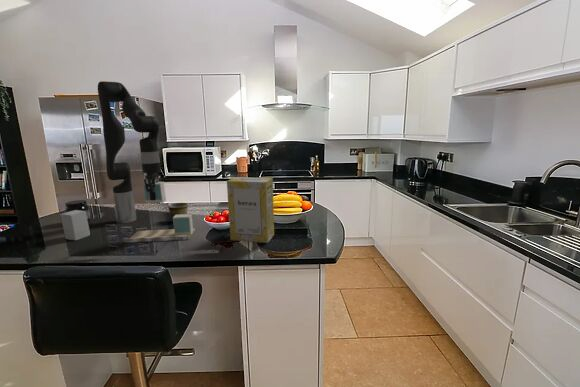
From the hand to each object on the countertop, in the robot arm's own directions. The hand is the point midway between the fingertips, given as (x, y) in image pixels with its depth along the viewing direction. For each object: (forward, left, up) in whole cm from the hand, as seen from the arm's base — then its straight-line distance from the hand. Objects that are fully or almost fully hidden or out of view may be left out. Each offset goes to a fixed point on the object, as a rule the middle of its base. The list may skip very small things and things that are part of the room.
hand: (155, 198), depth 129 cm
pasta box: (+44, -5, -20) cm, 49 cm away
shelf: (+1, 0, -20) cm, 20 cm away
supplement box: (-41, +7, -20) cm, 46 cm away
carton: (0, 0, -2) cm, 2 cm away
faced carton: (+11, 0, -18) cm, 21 cm away
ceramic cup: (+2, +24, -20) cm, 31 cm away
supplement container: (-54, +31, -20) cm, 65 cm away
